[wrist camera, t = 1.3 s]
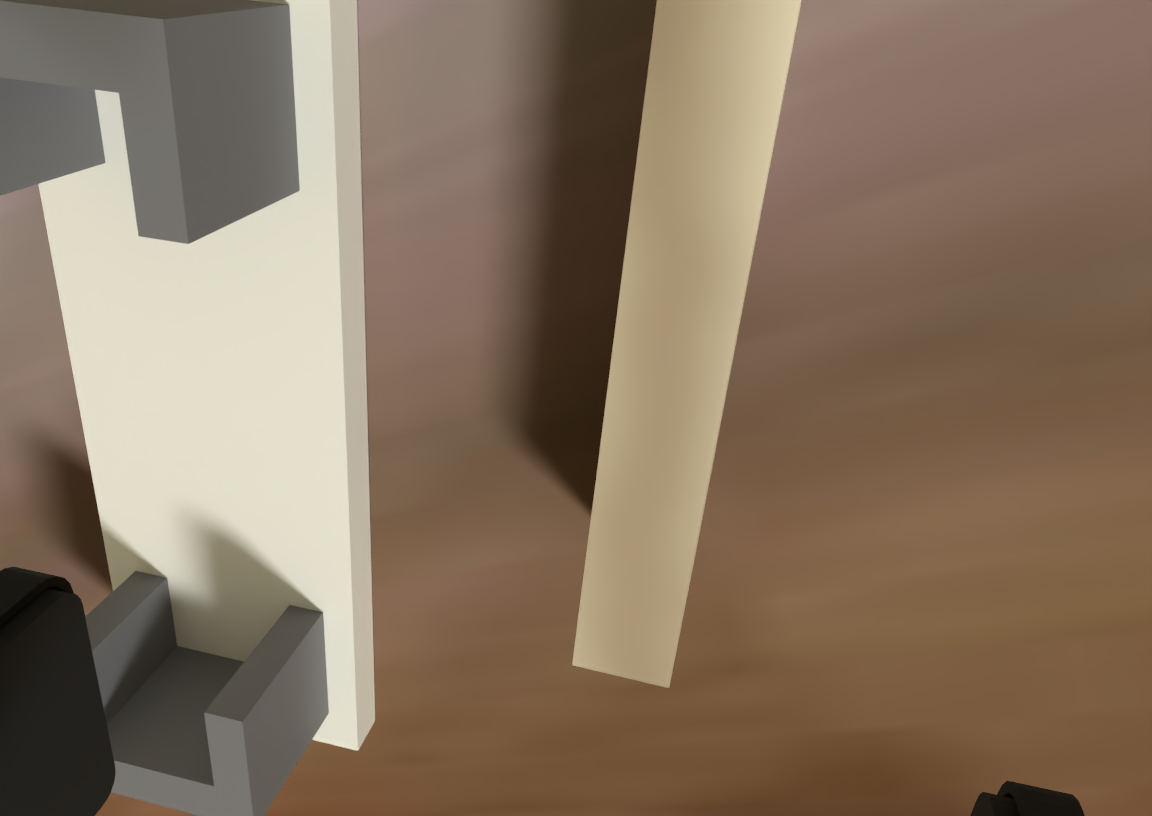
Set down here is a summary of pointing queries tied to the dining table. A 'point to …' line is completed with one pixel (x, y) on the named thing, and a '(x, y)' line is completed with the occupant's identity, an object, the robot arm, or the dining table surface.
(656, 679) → the slat
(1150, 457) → the dining table surface
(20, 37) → the end cap board
